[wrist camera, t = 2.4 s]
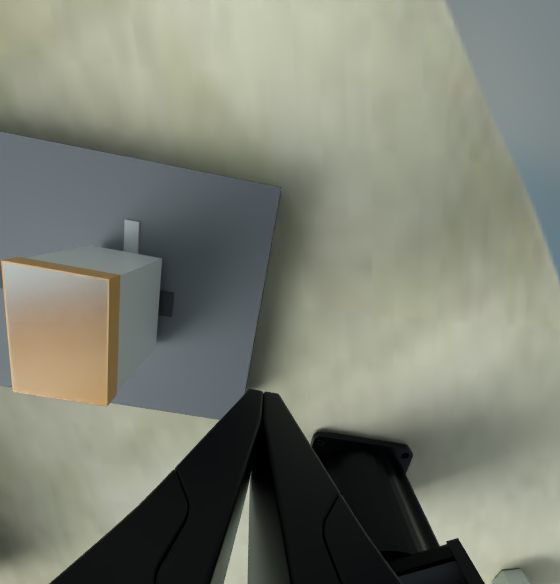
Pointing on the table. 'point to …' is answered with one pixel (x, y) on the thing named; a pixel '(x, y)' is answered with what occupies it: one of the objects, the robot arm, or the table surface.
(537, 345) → the table surface
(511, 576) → the screw
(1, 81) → the table surface
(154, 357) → the fader board
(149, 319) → the fader
